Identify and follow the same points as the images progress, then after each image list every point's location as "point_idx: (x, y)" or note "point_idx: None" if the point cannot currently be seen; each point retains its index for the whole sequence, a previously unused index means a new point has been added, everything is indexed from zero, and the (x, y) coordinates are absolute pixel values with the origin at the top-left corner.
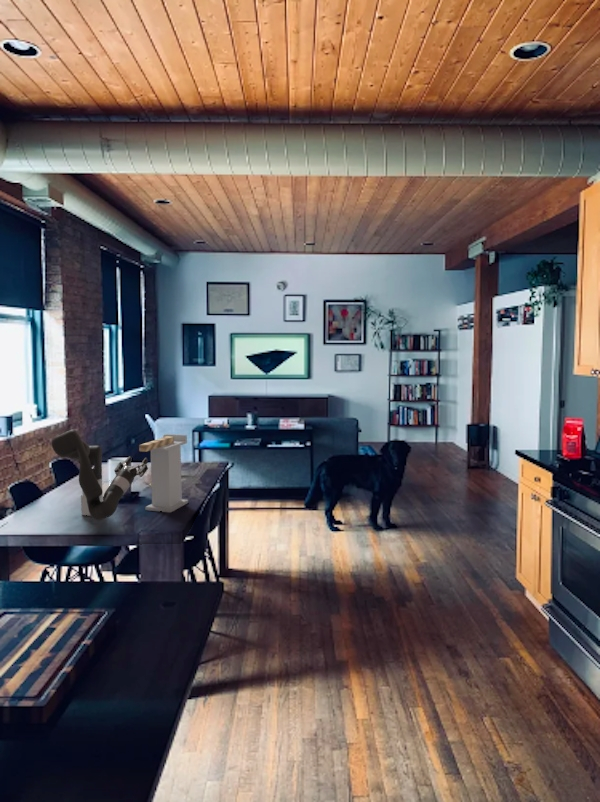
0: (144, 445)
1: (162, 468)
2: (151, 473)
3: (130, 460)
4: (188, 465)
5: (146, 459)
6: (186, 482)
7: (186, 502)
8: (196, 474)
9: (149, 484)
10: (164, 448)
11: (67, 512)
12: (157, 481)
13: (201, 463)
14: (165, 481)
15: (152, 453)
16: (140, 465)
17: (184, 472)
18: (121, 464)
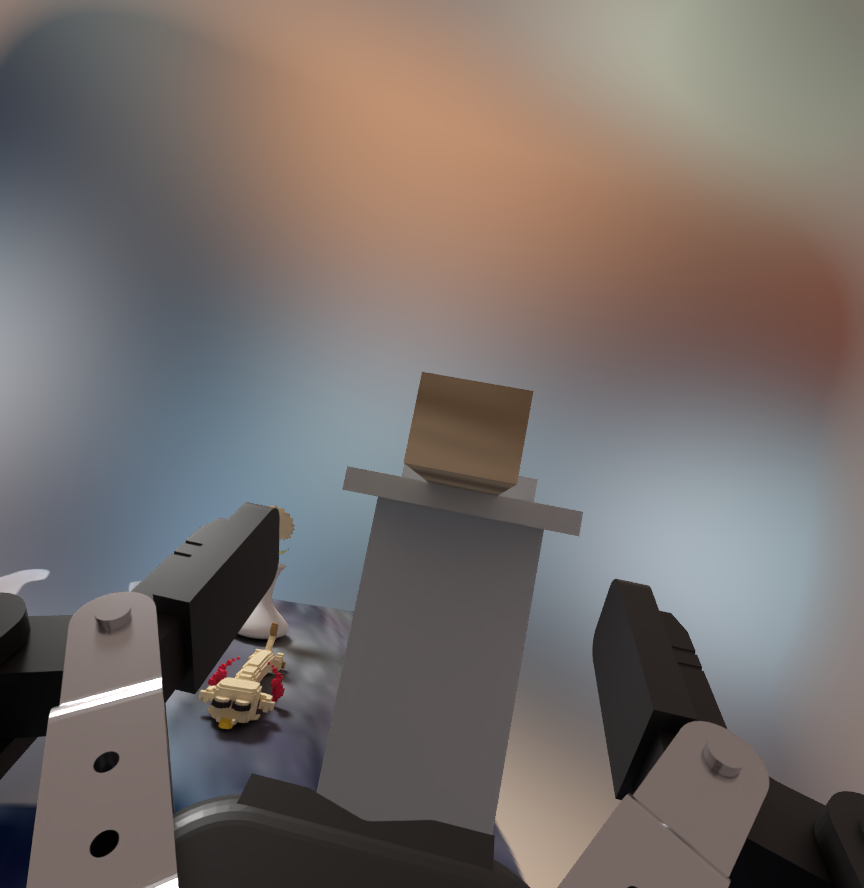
0: (510, 390)
1: (450, 690)
2: (334, 718)
3: (260, 582)
4: (295, 610)
5: (664, 621)
6: (335, 688)
7: None
8: (342, 649)
9: (200, 694)
10: (576, 512)
11: None
12: (375, 802)
13: (325, 608)
14: (455, 816)
15: (385, 545)
16: (728, 841)
17: (299, 635)
18: (6, 668)
